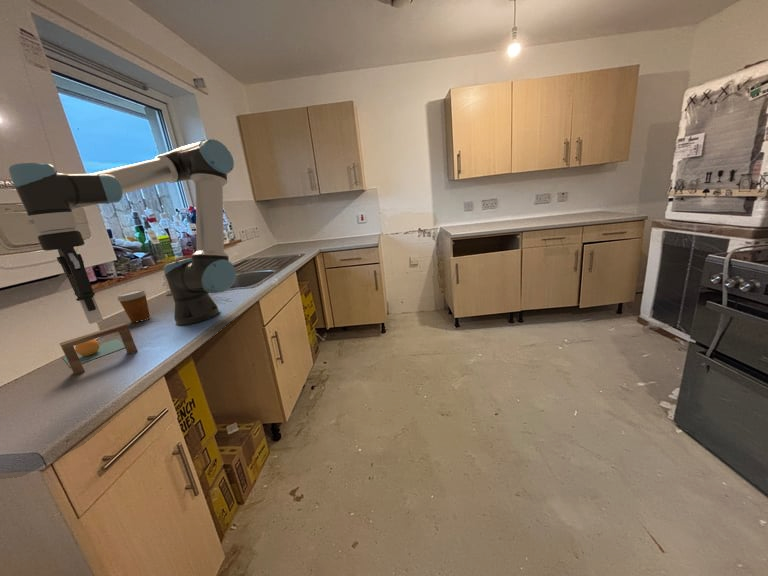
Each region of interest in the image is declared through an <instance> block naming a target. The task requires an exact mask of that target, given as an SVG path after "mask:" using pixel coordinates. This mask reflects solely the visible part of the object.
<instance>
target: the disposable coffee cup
mask: <svg viewBox="0 0 768 576" xmlns="http://www.w3.org/2000/svg"><path fill="white" fill-rule="evenodd" d="M116 300H117V301H119V303H120V305H121V306H122V308H123V309H124V311H125V313H126V315H127V317H128V319H129V320H130V322H131V323H132V322H136V321H141V320H145V319H147V318H149V317H150V318H151V316H150V315H151V314H150V310H149V304H148V301H147V292H146V291H145V290H144V288H143V289H135V290H129V291H127V292H123V293H119V294H118V295H117V299H116ZM150 318H149V319H150ZM147 320H148V319H147ZM145 321H146V320H145Z"/></svg>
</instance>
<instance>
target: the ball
mask: <svg viewBox="0 0 768 576" xmlns="http://www.w3.org/2000/svg"><path fill="white" fill-rule="evenodd" d="M99 345H100V343H99V341H97V339H93V340H90V341H87V342H84V343H81V344H78V345H75V347H74V349H75V351H76V352H77V353H78V354H79V355H82V356H90V355H93V354H95V353H96V352H97V351H98V350H99Z"/></svg>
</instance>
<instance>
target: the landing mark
mask: <svg viewBox="0 0 768 576" xmlns="http://www.w3.org/2000/svg"><path fill="white" fill-rule="evenodd" d="M101 344H102V345H101V346H99V350H98V351H97V352H96V353H95V354H93V355H90V356H82V355H81V356H80V357H78V358H79V360H80V362H81V364H82V363H83V364H85V363H88V362H91V361H93V359H94V360H97V359H98V358H102V357H105V356H107V355H110V354H112V353H115V352H119V351H121V350H123V349H125V346H124V344H123V341H121V340H119V339H118V338H115V339H112V340H108V341H107V342H106V341H105V342H103V343H101ZM63 357H64V358H63ZM63 357H62V359H63V361H65V363H66V364H67V363H68V364H67V365H68V366H69V367H70V364H69V362H68V360H67V358H66V357H65V356H63ZM83 364H82V365H83Z"/></svg>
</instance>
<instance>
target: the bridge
mask: <svg viewBox="0 0 768 576" xmlns="http://www.w3.org/2000/svg"><path fill="white" fill-rule="evenodd" d="M117 332H118V334H119V336H120V338H121V340H122V341H121V342H123V344H124V346H125V348H124V349H125V351H126V353H127V354H129V355H132V354H134V353H138V348H137V346H136V343H135V341H134V339H133V335H132V333H131V331H130V328H129V326H128V324H127V323H125V322H122V323H119V324H116V325H113V326H111V327H108V328H104V329H101V330H98V331H93V332H91V333H89V334H86V335H85V334H84V335H82V336H79V337H75V338H72V339H69V340H66V341H65V340H64V341H63V342H59V345H60V347H61V349H62V351H63V354H64V357H65V356H66V358H67V360H68V362H69V364H70V366H69V368H70V369H71V371H72V373H73V374H74V375H75V376H77V375H79V374H82V373H85V372H86V371H85V369H84V366H83V364H81V362H80V360H79V358H78V355H77V353H76V350H75V347H76V345H78V344H81V343H84V342H87V341H90V340H93V339H94V340H97V339H100V338H102V337H106V336H108V335H111V334H114V333H117ZM74 346H75V347H74Z"/></svg>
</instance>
